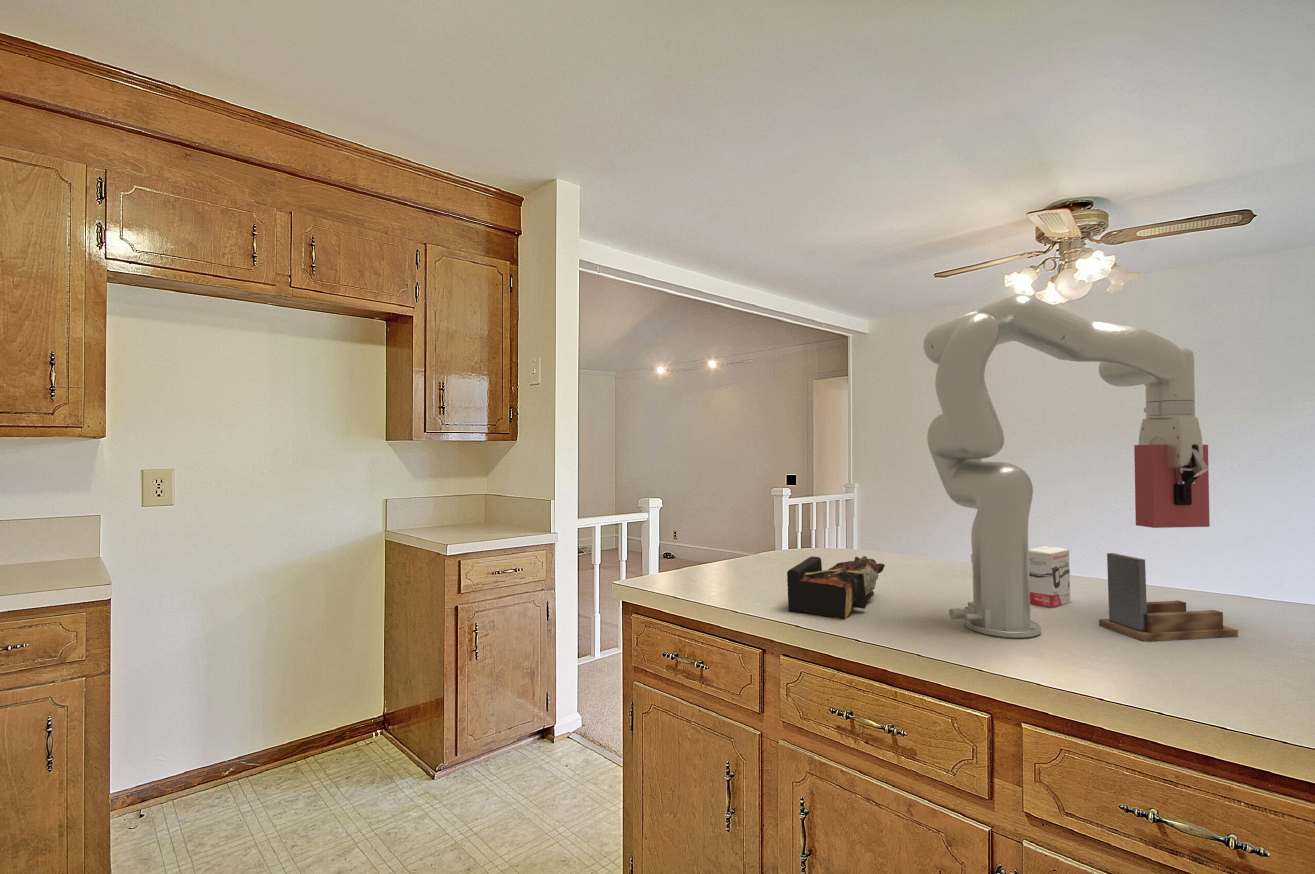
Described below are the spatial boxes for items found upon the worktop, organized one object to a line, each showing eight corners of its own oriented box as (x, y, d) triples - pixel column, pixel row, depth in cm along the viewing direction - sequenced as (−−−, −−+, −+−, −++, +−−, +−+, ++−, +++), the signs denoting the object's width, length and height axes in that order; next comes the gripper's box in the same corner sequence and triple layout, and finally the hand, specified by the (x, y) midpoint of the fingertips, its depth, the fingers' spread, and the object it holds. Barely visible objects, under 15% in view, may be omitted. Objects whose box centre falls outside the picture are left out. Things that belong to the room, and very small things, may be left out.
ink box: (1052, 608, 132) (1051, 552, 132) (1028, 603, 136) (1026, 549, 136) (1071, 602, 137) (1069, 548, 137) (1047, 597, 141) (1045, 545, 141)
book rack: (1144, 641, 109) (1143, 617, 109) (1099, 625, 119) (1098, 603, 119) (1238, 636, 111) (1237, 612, 111) (1185, 620, 121) (1184, 599, 121)
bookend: (784, 571, 133) (823, 542, 154) (789, 620, 134) (827, 585, 155) (853, 575, 125) (884, 545, 146) (857, 628, 126) (889, 590, 146)
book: (1153, 527, 120) (1152, 444, 121) (1135, 525, 124) (1134, 445, 125) (1209, 526, 122) (1207, 444, 122) (1189, 524, 126) (1188, 444, 126)
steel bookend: (1141, 638, 111) (1138, 559, 111) (1109, 627, 118) (1106, 553, 118) (1147, 638, 111) (1145, 559, 111) (1115, 627, 118) (1112, 552, 118)
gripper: (1117, 413, 131) (1118, 500, 131) (1193, 408, 115) (1195, 508, 114) (1149, 413, 132) (1150, 500, 132) (1230, 408, 115) (1232, 507, 115)
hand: (1171, 502), depth 123 cm, fingers closed on book, 4 cm apart
